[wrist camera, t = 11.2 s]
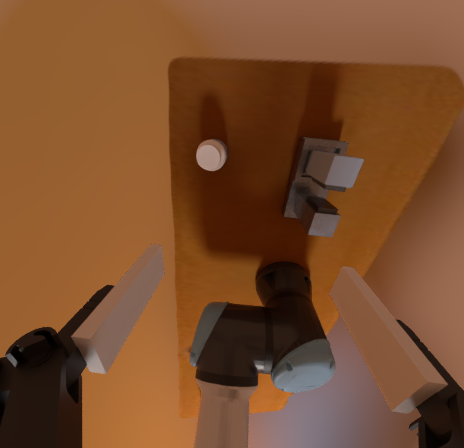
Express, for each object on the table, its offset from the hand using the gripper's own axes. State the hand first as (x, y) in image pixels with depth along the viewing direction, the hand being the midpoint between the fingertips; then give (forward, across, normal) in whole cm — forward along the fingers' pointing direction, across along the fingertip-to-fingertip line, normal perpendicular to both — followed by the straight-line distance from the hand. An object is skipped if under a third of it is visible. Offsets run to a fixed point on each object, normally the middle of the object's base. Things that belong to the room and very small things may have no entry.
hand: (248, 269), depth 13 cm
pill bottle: (+29, -7, +5) cm, 30 cm away
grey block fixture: (+29, +13, +2) cm, 32 cm away
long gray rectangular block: (+26, +13, +6) cm, 30 cm away
